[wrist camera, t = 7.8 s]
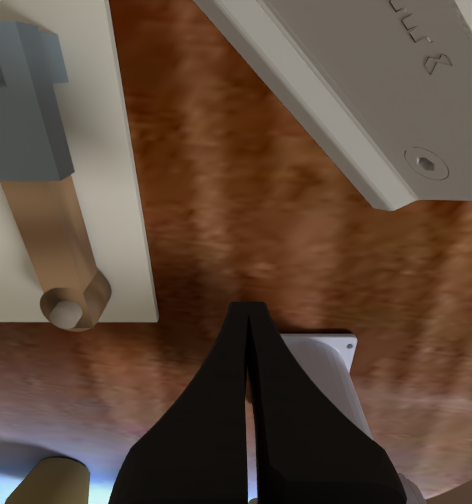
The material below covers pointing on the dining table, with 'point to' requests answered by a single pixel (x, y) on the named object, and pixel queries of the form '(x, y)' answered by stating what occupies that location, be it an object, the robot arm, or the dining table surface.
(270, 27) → the white rounded block
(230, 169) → the dining table surface
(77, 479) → the squeeze bottle
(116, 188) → the keeper board
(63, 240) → the link arm
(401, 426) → the dining table surface
